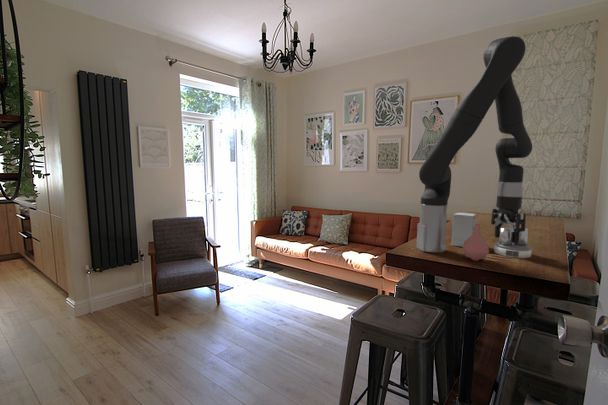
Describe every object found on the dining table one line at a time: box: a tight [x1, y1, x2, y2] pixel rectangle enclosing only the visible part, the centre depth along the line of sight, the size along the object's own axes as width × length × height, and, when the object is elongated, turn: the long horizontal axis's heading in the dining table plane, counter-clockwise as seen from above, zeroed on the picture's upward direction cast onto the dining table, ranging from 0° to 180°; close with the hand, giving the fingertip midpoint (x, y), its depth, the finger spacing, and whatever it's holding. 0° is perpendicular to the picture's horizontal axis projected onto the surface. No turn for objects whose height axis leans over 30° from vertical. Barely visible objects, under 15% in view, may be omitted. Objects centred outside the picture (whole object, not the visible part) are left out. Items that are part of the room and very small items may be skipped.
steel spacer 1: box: [498, 226, 512, 246], centre depth 112 cm, size 4×4×6 cm
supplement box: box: [451, 212, 477, 248], centre depth 125 cm, size 7×7×13 cm
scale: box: [493, 241, 533, 259], centre depth 113 cm, size 11×11×3 cm
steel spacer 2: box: [513, 226, 529, 246], centre depth 113 cm, size 4×4×6 cm
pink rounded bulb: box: [462, 223, 490, 262], centre depth 105 cm, size 8×8×12 cm
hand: (505, 239), depth 113 cm, fingers open, 8 cm apart
